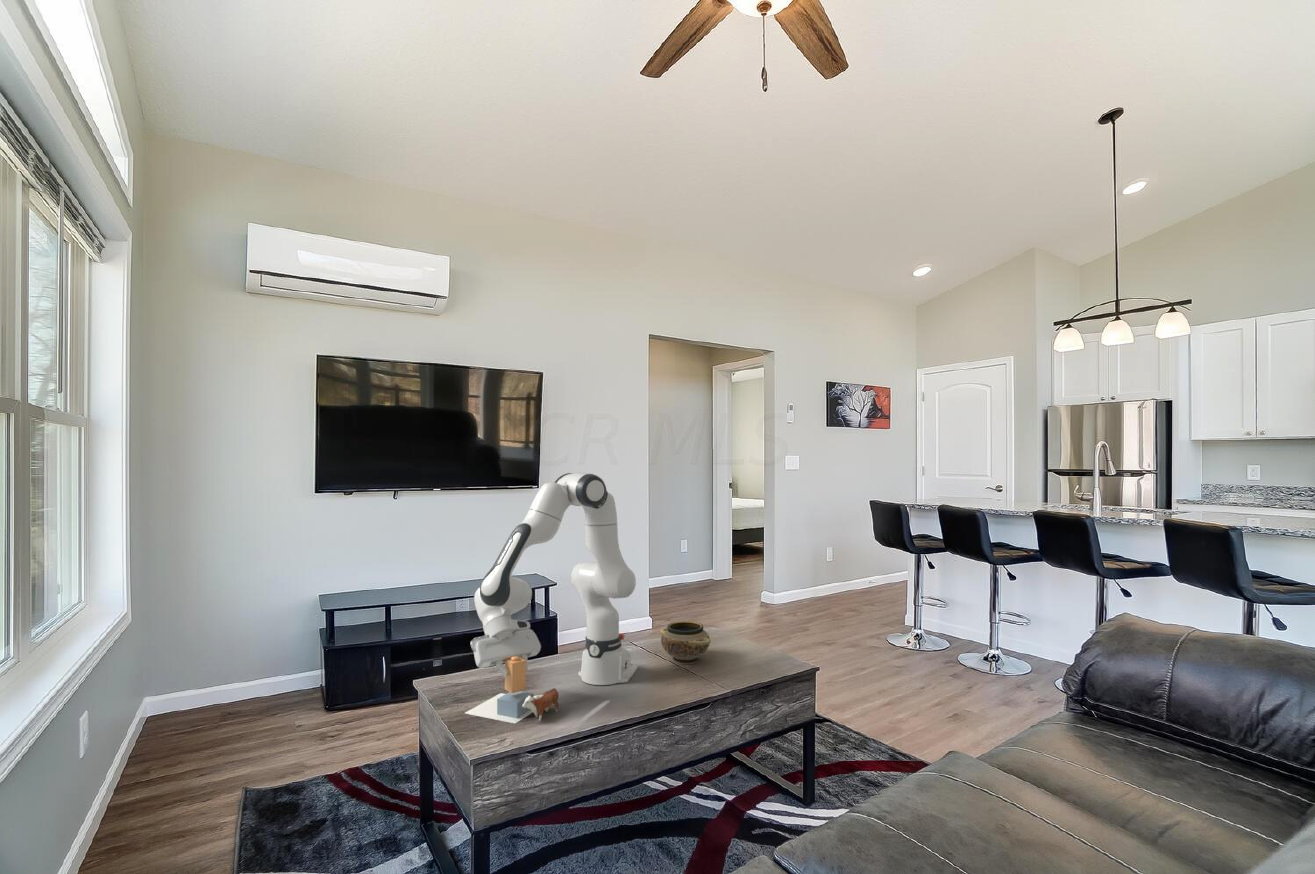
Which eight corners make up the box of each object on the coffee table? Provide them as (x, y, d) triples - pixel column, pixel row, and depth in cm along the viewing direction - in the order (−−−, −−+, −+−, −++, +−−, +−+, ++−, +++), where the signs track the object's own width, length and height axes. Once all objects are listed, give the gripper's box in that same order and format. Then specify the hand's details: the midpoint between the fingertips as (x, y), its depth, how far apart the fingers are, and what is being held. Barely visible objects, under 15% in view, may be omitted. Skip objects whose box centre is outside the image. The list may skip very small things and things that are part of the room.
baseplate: (500, 696, 202) (500, 693, 202) (548, 705, 195) (548, 701, 195) (464, 716, 187) (464, 713, 187) (515, 727, 179) (515, 723, 179)
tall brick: (504, 689, 188) (505, 657, 188) (518, 685, 191) (518, 654, 191) (512, 693, 185) (512, 660, 185) (525, 689, 188) (525, 657, 188)
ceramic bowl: (652, 662, 243) (644, 625, 242) (688, 642, 253) (680, 607, 251) (691, 681, 223) (683, 641, 221) (729, 659, 233) (721, 620, 231)
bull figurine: (519, 726, 180) (519, 696, 180) (552, 710, 191) (552, 682, 192) (530, 729, 178) (530, 700, 178) (563, 713, 189) (563, 685, 189)
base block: (513, 704, 193) (513, 689, 193) (533, 708, 190) (533, 693, 190) (497, 714, 186) (497, 698, 186) (517, 718, 183) (517, 702, 183)
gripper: (472, 632, 187) (487, 675, 179) (533, 621, 200) (549, 659, 193) (465, 644, 190) (479, 687, 182) (526, 632, 204) (542, 671, 196)
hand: (516, 673), depth 188 cm, fingers closed on tall brick, 4 cm apart
